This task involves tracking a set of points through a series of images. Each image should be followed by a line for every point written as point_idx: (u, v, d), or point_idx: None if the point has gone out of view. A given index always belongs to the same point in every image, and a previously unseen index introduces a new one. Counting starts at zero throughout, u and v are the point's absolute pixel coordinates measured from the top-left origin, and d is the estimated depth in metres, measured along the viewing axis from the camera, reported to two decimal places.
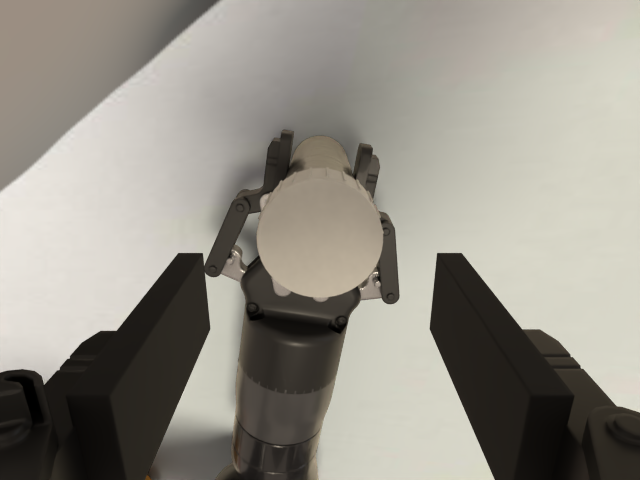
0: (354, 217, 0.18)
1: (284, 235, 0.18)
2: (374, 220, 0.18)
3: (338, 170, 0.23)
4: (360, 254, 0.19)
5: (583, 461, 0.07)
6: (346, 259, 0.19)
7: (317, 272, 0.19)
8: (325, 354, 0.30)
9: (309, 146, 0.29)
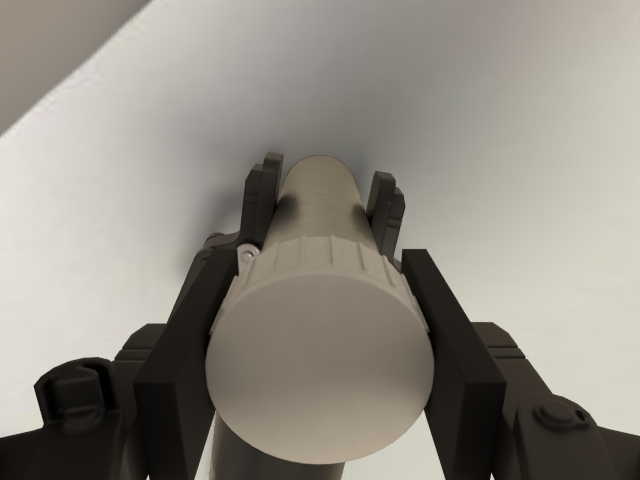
0: (383, 338, 0.10)
1: (255, 367, 0.10)
2: (420, 343, 0.10)
3: (349, 226, 0.14)
4: (392, 398, 0.10)
5: (512, 445, 0.08)
6: (367, 405, 0.10)
7: (315, 426, 0.11)
8: None
9: (305, 174, 0.21)
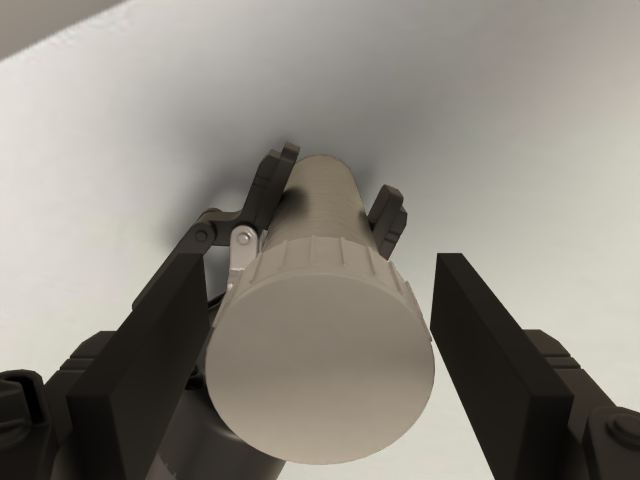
0: (314, 310, 0.10)
1: (277, 416, 0.11)
2: (340, 284, 0.09)
3: (361, 231, 0.15)
4: (383, 335, 0.10)
5: (582, 461, 0.07)
6: (376, 359, 0.10)
7: (367, 408, 0.10)
8: None
9: (315, 171, 0.21)
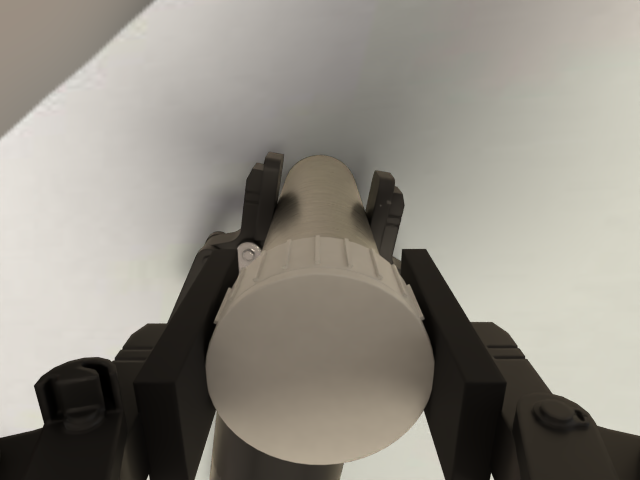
0: (295, 313, 0.10)
1: (289, 423, 0.11)
2: (313, 283, 0.09)
3: (348, 224, 0.15)
4: (370, 324, 0.10)
5: (512, 444, 0.08)
6: (370, 349, 0.10)
7: (375, 398, 0.10)
8: None
9: (305, 173, 0.21)
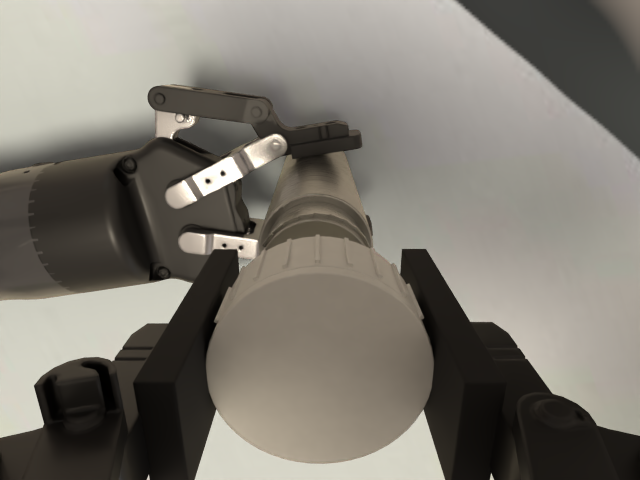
0: (295, 312, 0.10)
1: (289, 422, 0.11)
2: (313, 282, 0.09)
3: None
4: (370, 323, 0.10)
5: (511, 445, 0.08)
6: (369, 348, 0.10)
7: (375, 397, 0.10)
8: (116, 278, 0.23)
9: (345, 162, 0.26)
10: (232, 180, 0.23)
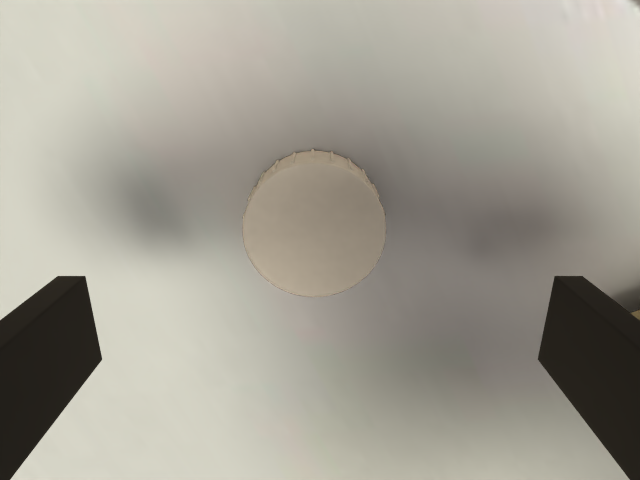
0: (299, 190, 0.16)
1: (295, 266, 0.17)
2: (310, 169, 0.15)
3: None
4: (345, 196, 0.16)
5: None
6: (345, 213, 0.16)
7: (349, 248, 0.16)
8: None
9: None
10: None
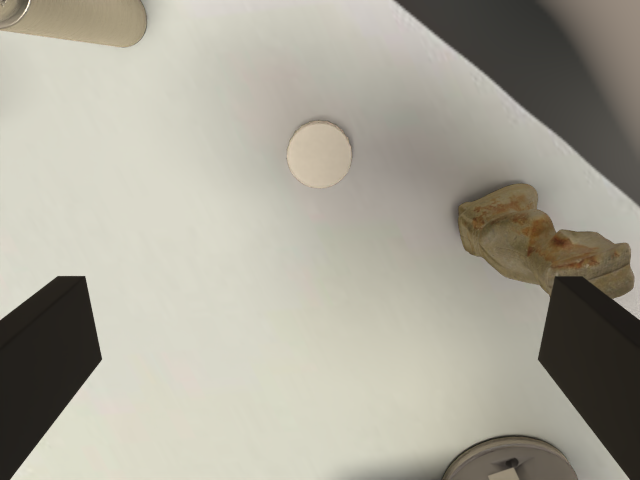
0: (312, 135, 0.36)
1: (310, 172, 0.37)
2: (317, 126, 0.35)
3: None
4: (333, 138, 0.36)
5: None
6: (333, 146, 0.36)
7: (335, 163, 0.36)
8: None
9: None
10: None
